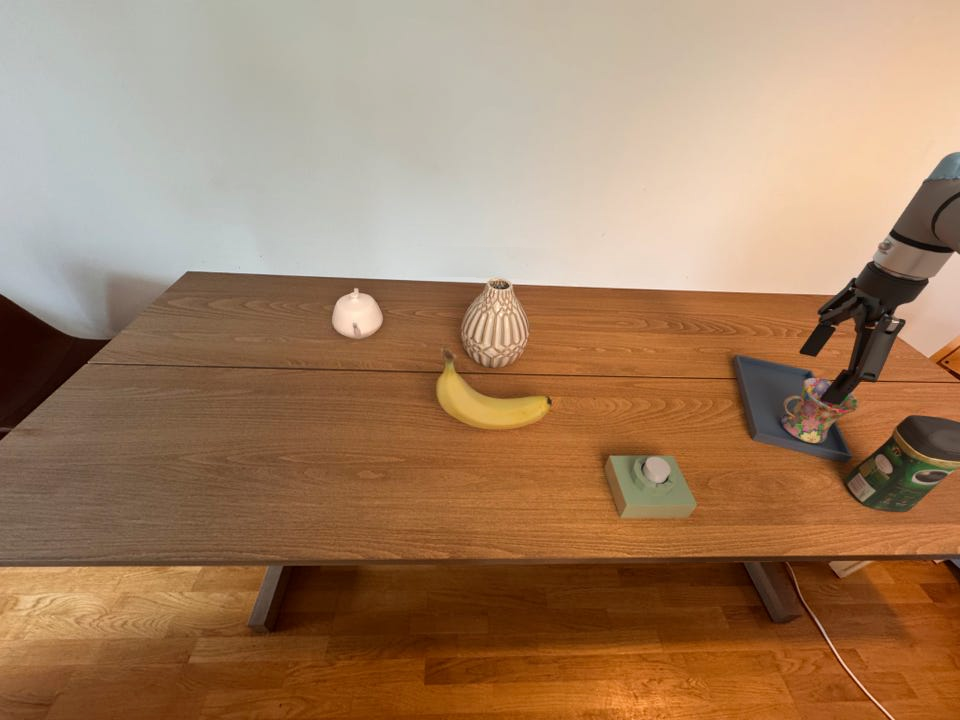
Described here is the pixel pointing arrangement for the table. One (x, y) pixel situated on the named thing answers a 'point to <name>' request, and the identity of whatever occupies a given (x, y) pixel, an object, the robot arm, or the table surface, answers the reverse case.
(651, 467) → the button
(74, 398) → the table surface
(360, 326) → the teapot
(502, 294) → the vase
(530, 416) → the banana
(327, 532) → the table surface
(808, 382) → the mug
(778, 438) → the tray
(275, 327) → the table surface
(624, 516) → the green button box
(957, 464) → the coffee jar
